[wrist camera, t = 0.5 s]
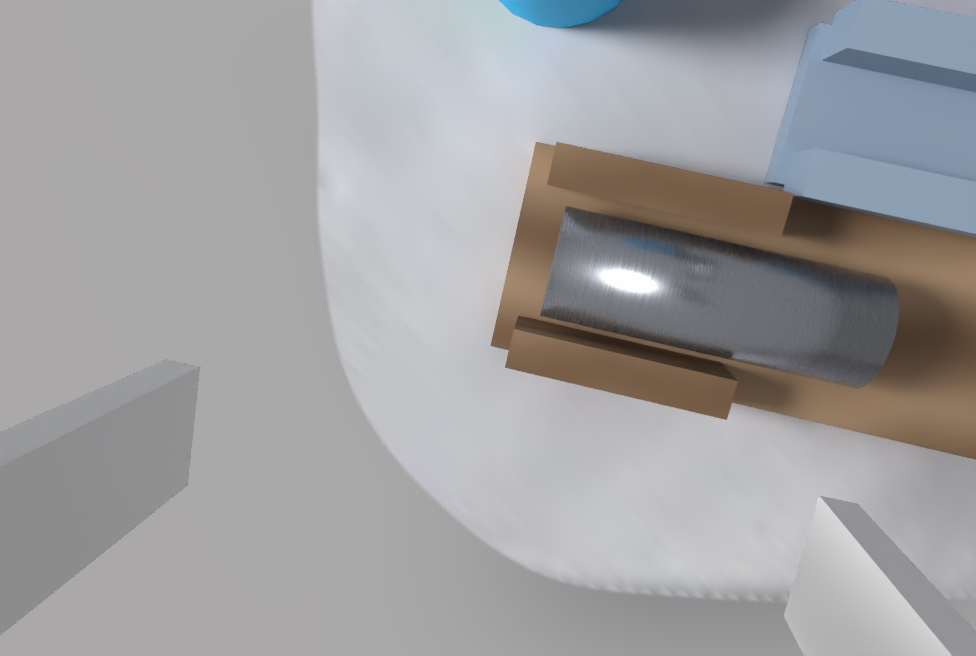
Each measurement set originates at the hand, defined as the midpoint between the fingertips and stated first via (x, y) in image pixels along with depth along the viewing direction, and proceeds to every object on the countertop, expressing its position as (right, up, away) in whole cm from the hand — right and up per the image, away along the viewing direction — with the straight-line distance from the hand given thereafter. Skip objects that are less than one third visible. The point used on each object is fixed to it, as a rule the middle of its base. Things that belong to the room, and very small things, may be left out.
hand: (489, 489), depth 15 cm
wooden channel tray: (+12, +5, +21) cm, 25 cm away
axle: (+10, +5, +19) cm, 22 cm away
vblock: (+19, +12, +19) cm, 29 cm away
